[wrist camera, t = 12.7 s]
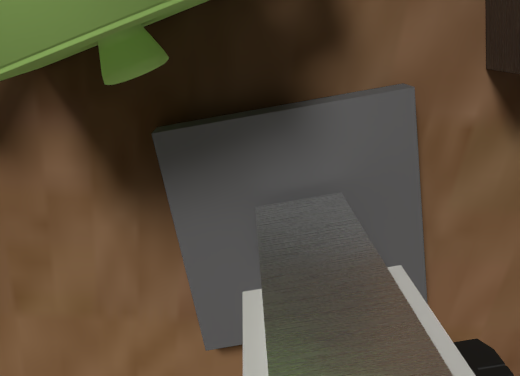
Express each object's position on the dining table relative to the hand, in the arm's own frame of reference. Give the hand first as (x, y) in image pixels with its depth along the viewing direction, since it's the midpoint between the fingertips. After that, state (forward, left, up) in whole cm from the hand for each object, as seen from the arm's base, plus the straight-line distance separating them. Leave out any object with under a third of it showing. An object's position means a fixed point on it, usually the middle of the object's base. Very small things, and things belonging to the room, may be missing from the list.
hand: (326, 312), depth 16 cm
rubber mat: (0, 0, -9) cm, 9 cm away
